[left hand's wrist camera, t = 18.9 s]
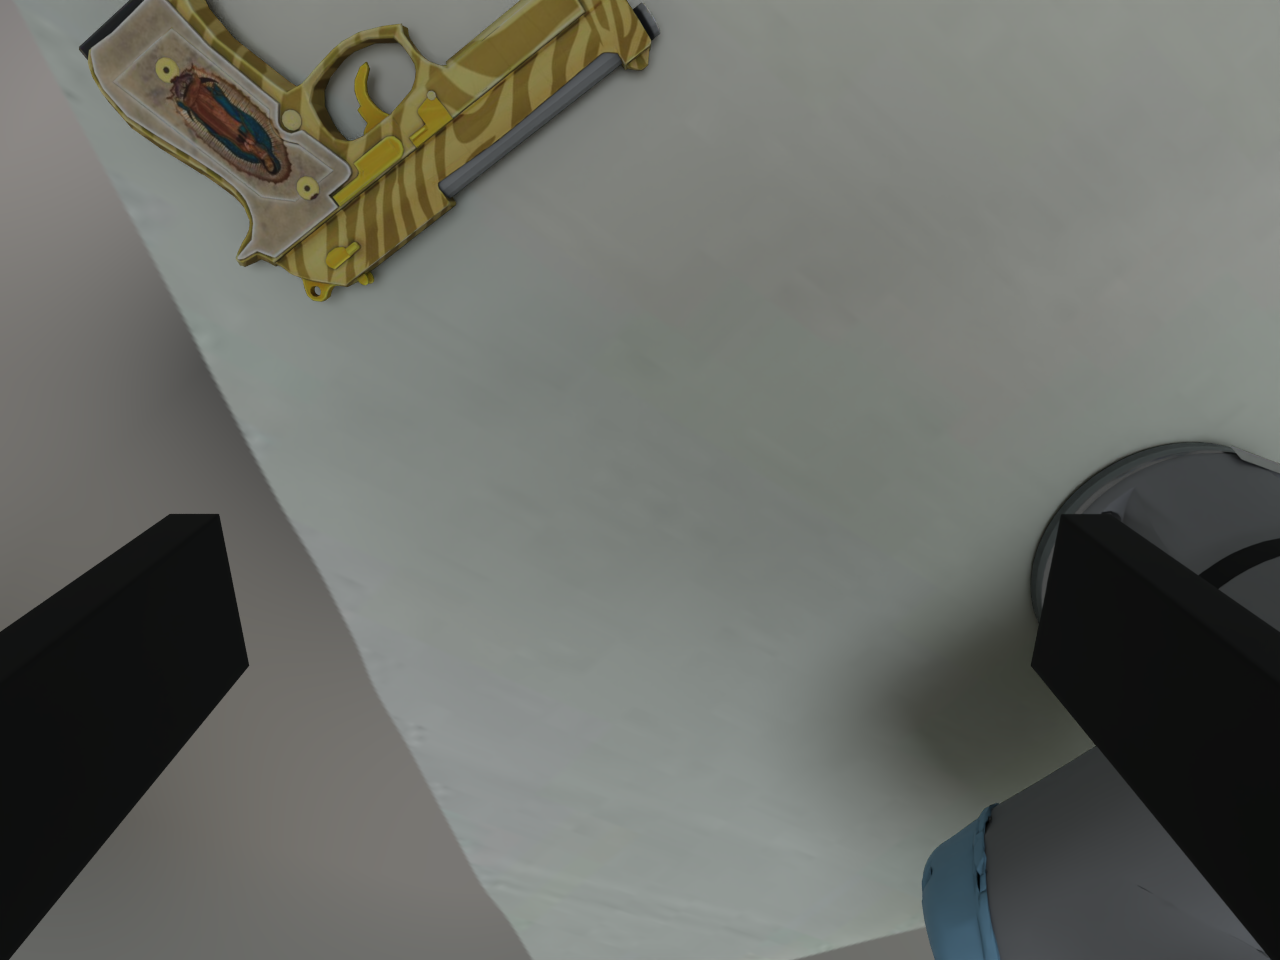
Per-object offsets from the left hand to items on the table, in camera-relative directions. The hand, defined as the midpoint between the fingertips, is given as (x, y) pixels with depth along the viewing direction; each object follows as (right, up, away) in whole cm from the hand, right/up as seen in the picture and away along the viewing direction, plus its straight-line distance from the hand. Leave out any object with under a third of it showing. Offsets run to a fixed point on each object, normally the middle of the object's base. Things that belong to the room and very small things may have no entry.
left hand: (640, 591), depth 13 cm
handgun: (-12, +21, +25) cm, 35 cm away
